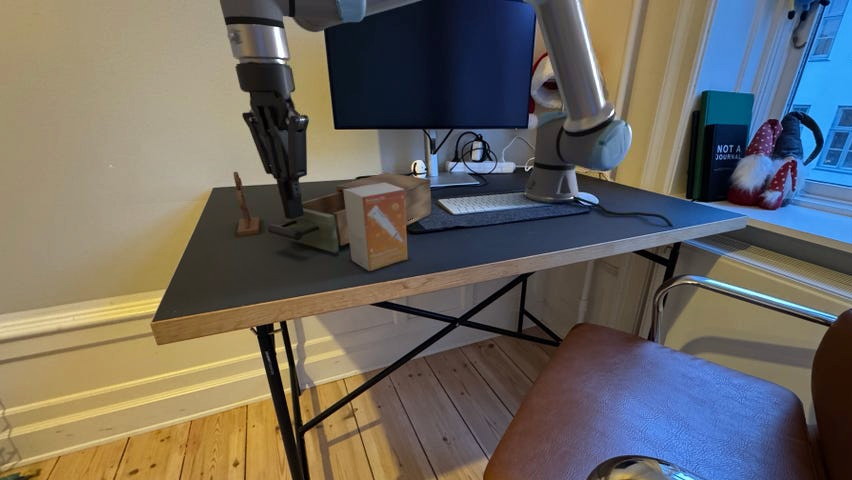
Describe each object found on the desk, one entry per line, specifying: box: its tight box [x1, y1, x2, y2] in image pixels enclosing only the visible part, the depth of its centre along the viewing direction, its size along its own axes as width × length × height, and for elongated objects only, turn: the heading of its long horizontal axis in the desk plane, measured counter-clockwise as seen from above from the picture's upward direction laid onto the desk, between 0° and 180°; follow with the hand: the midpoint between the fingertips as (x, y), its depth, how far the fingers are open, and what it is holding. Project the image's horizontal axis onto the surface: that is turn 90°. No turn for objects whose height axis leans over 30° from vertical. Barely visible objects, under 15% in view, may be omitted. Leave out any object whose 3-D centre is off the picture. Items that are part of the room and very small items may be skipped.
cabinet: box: [335, 172, 432, 227], centre depth 85 cm, size 17×14×9 cm
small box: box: [343, 182, 408, 272], centre depth 63 cm, size 8×6×13 cm
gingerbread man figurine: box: [233, 171, 260, 237], centre depth 77 cm, size 9×4×12 cm, turn 26°
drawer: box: [267, 191, 350, 254], centre depth 71 cm, size 21×12×7 cm, turn 151°
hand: (294, 216), depth 64 cm, fingers closed
